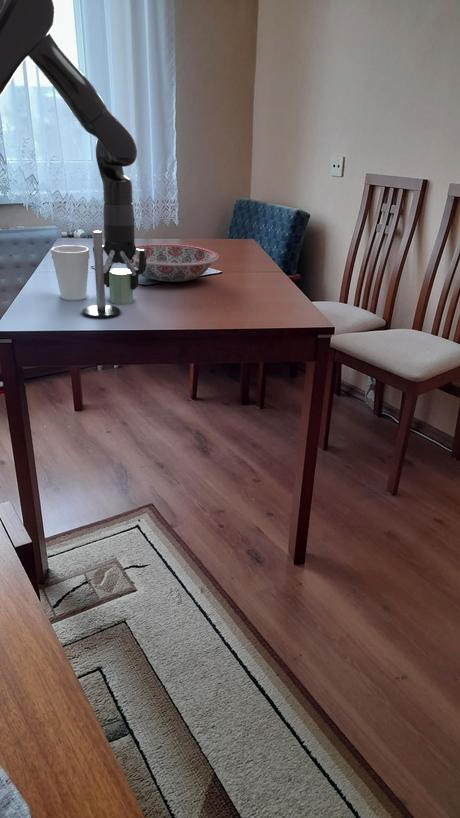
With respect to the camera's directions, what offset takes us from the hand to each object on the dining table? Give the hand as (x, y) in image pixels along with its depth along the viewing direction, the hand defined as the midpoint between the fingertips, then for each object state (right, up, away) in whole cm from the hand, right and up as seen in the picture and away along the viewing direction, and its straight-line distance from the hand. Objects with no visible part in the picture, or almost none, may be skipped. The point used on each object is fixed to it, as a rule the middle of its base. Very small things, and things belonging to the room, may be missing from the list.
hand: (121, 287), depth 146 cm
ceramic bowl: (+10, +8, +26) cm, 29 cm away
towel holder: (-3, -9, -9) cm, 13 cm away
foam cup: (-13, -3, +3) cm, 14 cm away
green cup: (0, -3, +2) cm, 4 cm away
